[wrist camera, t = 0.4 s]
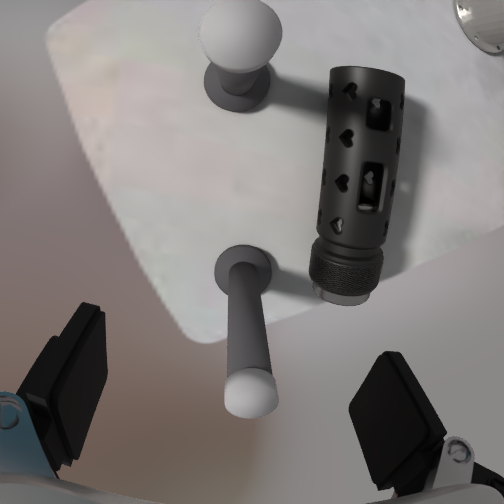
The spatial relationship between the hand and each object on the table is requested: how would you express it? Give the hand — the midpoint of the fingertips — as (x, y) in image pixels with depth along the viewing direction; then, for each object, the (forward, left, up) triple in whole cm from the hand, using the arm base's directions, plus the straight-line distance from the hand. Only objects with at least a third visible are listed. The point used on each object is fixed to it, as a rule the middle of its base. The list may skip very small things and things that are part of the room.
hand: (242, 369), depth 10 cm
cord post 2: (-1, +13, -34) cm, 37 cm away
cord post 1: (-1, -13, -34) cm, 36 cm away
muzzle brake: (-15, 0, -34) cm, 37 cm away
